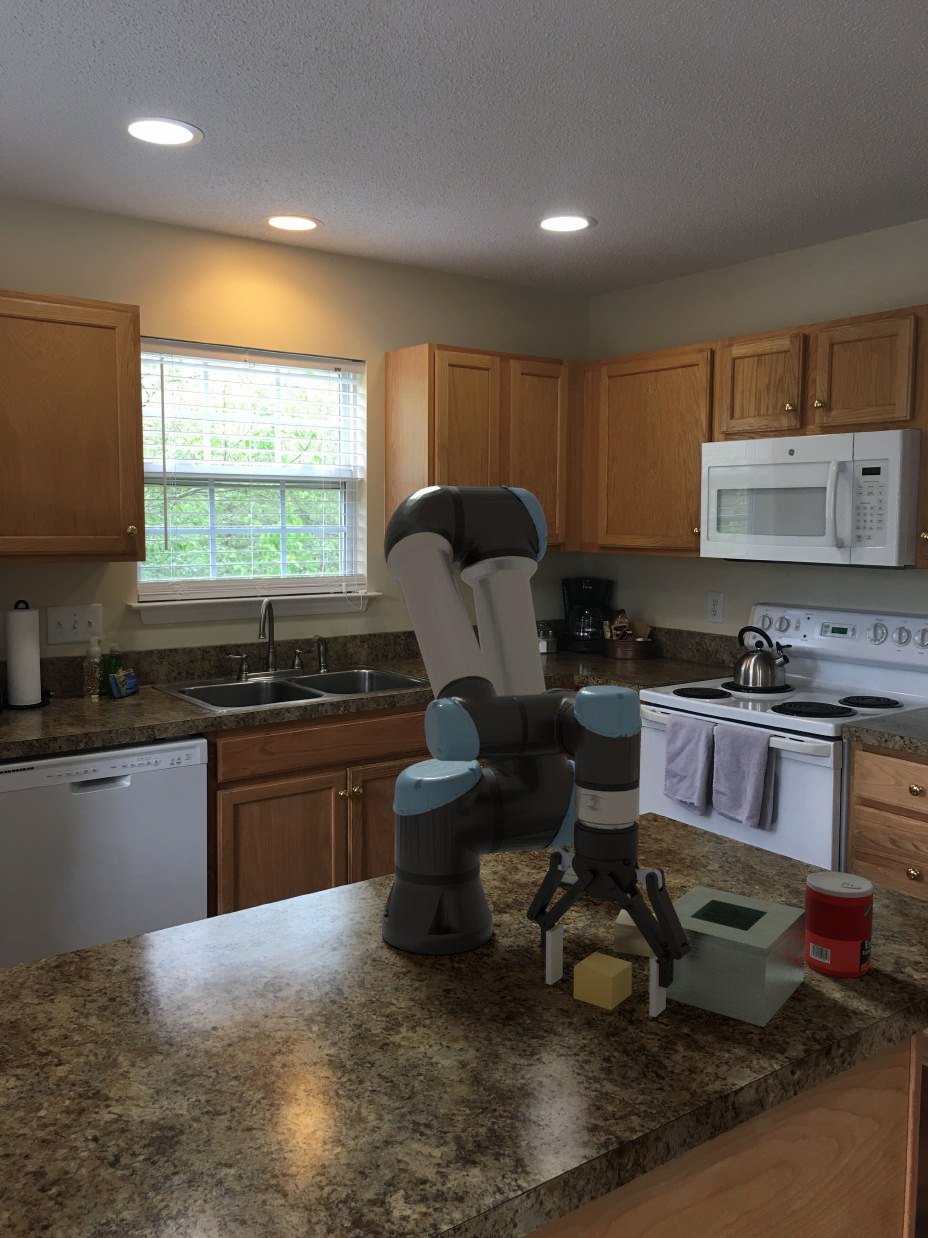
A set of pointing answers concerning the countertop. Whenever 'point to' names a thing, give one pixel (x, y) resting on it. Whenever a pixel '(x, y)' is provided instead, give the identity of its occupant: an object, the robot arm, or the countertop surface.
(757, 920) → the box
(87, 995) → the countertop surface
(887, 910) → the countertop surface
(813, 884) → the canned food
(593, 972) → the block
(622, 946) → the block
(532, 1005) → the countertop surface
